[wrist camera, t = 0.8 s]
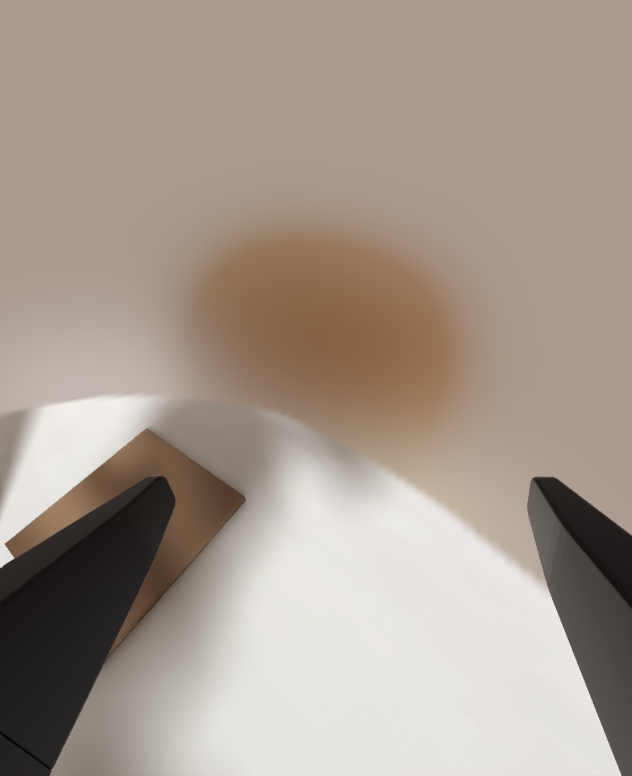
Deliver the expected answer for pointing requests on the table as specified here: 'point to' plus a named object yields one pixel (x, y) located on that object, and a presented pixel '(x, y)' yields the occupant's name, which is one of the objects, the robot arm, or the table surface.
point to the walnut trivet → (186, 526)
